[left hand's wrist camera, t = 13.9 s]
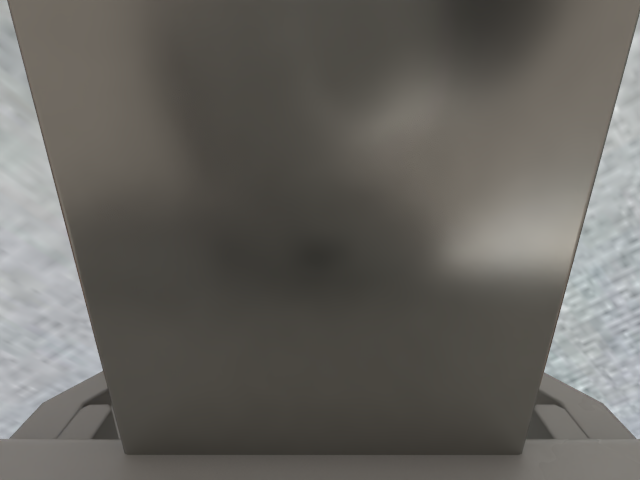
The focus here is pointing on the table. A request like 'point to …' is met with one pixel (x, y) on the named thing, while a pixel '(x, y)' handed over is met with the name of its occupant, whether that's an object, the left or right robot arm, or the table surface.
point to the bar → (324, 209)
